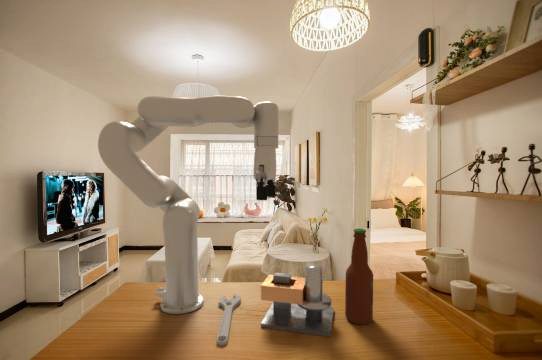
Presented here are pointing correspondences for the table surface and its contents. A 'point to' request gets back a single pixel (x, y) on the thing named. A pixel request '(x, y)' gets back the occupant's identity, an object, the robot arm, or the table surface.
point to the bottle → (359, 283)
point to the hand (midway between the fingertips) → (266, 198)
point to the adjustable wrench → (226, 317)
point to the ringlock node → (300, 303)
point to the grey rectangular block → (281, 307)
